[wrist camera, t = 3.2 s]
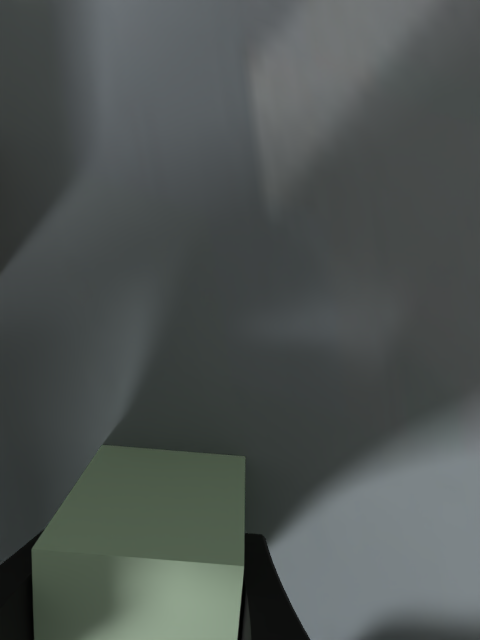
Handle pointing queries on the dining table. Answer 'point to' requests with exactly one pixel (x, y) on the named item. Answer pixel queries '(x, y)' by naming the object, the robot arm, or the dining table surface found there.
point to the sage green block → (144, 549)
